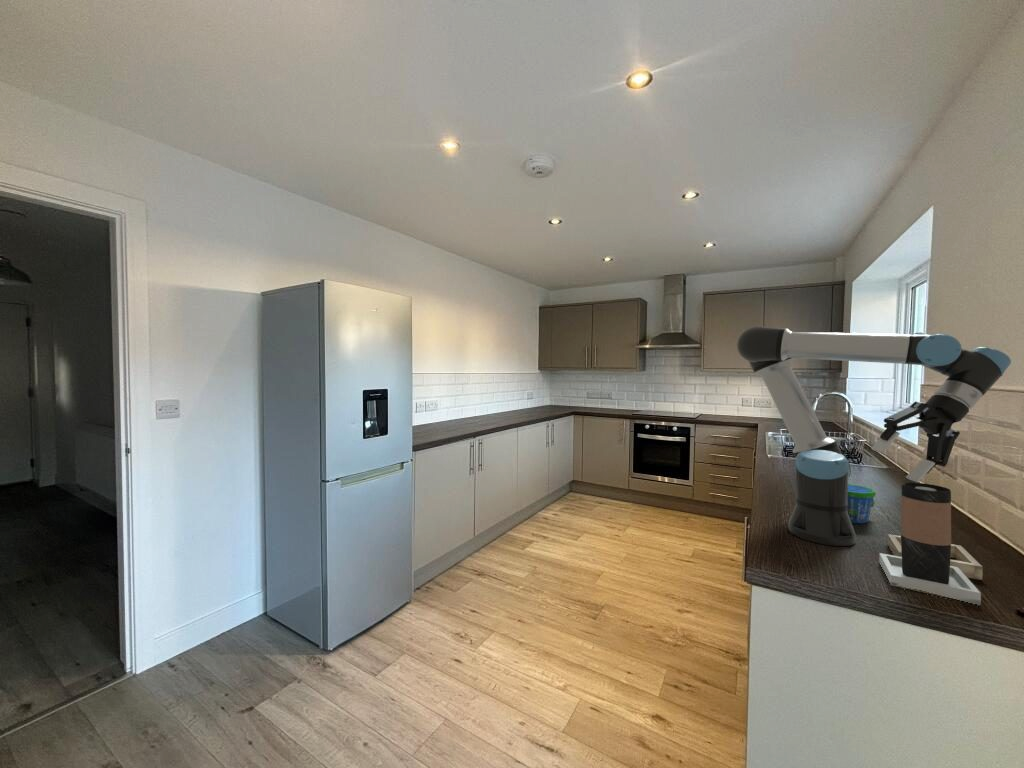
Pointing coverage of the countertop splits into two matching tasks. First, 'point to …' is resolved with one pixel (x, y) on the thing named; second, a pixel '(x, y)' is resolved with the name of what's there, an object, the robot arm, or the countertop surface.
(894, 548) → the wooden holder
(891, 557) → the grey tray
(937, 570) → the travel mug
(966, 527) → the countertop surface
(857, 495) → the snack cup
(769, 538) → the countertop surface
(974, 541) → the countertop surface
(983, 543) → the countertop surface
